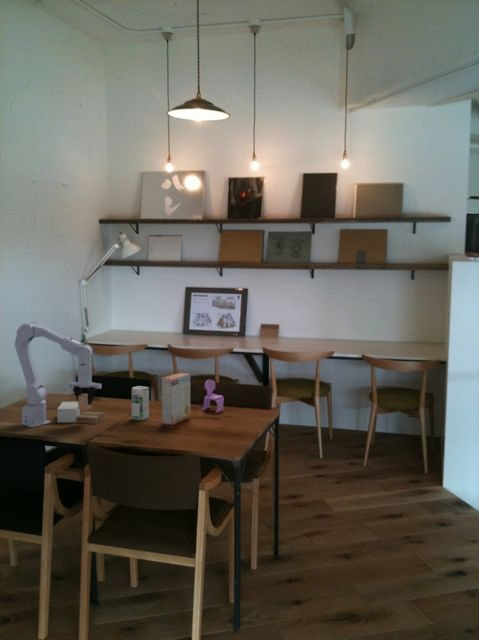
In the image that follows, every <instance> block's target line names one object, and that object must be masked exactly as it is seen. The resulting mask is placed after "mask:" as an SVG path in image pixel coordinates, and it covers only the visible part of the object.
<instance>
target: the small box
mask: <svg viewBox="0 0 479 640" xmlns="http://www.w3.org/2000/svg"><path fill="white" fill-rule="evenodd" d="M56 413H57V415H56V416H57V423H58V424H59V423H60V424H62V423H67V424H68V423H69V424H70V423H71V424H72V423H77V416H79V415H80V414H81V410H79V405H78V401H62V402H60V405H59V406H58V407H57V412H56Z"/></svg>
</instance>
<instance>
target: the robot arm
mask: <svg viewBox="0 0 479 640" xmlns="http://www.w3.org/2000/svg"><path fill="white" fill-rule="evenodd" d="M41 337H43V338H46V339H47V340H50V341H52V342H53V343H56V344H59V345H60V348H61V349H62V350H63V351H66V352H68V353H70V354H72V355H75V356H76V358H77V381H69V382H68V383H67V388H72V392H73V393H74V395H75V397H76V402H78V396H79V395H81V394H83V389H84V388H85V389H86V392H87V393H86V394H88V405H91V406H92V404H93V399H94V397H95V394H96V391H97V390H100V389H102V383H98V382H97V383H96V382H93V381H92V377H93V376H92V365H93V364H92V355H93V353H94V351H93V347H91V346H90V345H89V344H84V342H79V341H78V340H76V339H75V338H74V337H73V336H66V337H63V336H61V335H60V334H58V333H57V332H54V331H53V330H52V329H50V328H48V327H46V326H44V325H43V324H40V323H38V322H36V321H30V322H28V323H23V324H21V325H20V326H19V327H18V328H17V330H16V337H15V340H14V347H15V350H16V353H17V357H18V361H19V363H20V366H21V370H22V372H23V376H24V379H25V383H26V386H25V392H26V396H25V398H26V401H27V403H28V404H26V405H24V406H23V407H22V410H21V423H20V424H21V425H24V426H25V427H29V428H35V427H38V426H42V425H47V424H51V421H49V420H47V401H46V398H47V396H48V393H49V392H48V389H47V388H46V387H45V386H44V384H43V382H42V381H41V380H40V378H39V375H38V371H37V368H36V365H35V362H34V358H33V355H32V352H31V349H30V344H31V342H32V341H33V339H34V338H41Z"/></svg>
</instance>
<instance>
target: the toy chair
mask: <svg viewBox="0 0 479 640" xmlns="http://www.w3.org/2000/svg"><path fill="white" fill-rule="evenodd" d="M204 389H205V390H206V393H207V394H206V396H204V399H203V407H202V409H201V411H202V410H204V411H206V410H205V409H207V408H209V407H211V406H210V405H211V401H215V402H216V406H217V407H216V408H217V409H216V412H219V411H221V410H223V411H224V403H225V402H224V401H225V399H224V396H223V395H220V394H215V393H213V391H214V390H216V381H215V380H213V379H207V380H206V381H205V383H204ZM207 410H208V409H207ZM216 412H215V413H216ZM219 413H220V412H219Z"/></svg>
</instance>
